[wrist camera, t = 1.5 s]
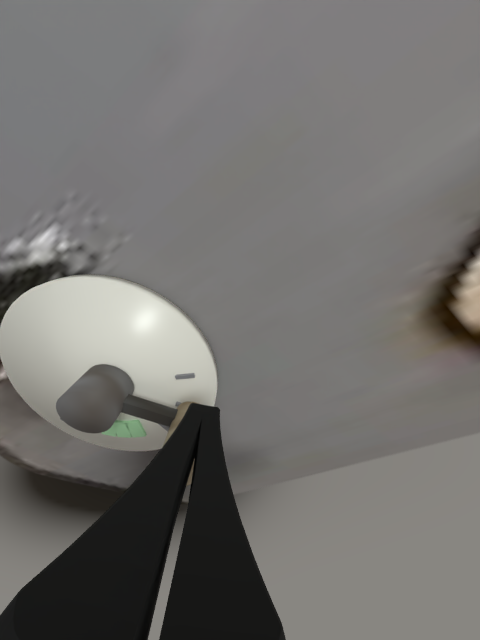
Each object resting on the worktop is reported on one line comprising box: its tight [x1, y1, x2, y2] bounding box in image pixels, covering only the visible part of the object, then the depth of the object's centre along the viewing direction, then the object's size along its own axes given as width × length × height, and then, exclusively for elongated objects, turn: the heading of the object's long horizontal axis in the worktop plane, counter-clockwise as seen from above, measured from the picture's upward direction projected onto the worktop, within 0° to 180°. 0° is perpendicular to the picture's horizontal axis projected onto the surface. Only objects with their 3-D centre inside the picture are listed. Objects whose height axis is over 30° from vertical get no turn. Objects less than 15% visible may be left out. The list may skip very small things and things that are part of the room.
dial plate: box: [0, 274, 218, 451], centre depth 17 cm, size 16×16×1 cm
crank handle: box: [56, 364, 199, 486], centre depth 15 cm, size 10×4×5 cm, turn 68°
